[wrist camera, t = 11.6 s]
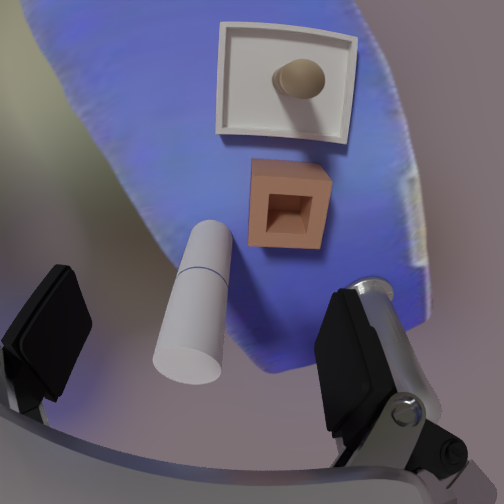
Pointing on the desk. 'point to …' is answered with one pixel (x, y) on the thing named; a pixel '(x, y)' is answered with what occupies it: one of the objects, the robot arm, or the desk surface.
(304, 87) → the dowel pin
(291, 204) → the deep holder
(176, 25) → the desk surface
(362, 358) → the robot arm
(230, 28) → the tray
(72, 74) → the desk surface
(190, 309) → the cylindrical container
